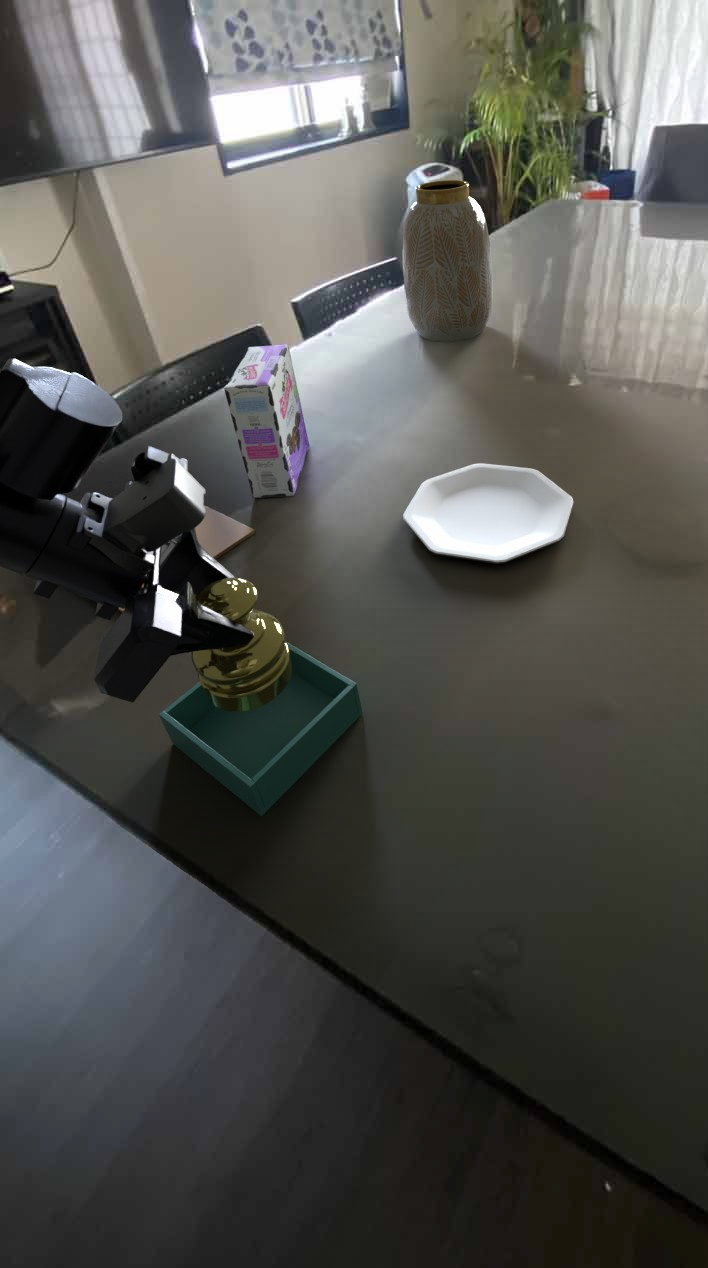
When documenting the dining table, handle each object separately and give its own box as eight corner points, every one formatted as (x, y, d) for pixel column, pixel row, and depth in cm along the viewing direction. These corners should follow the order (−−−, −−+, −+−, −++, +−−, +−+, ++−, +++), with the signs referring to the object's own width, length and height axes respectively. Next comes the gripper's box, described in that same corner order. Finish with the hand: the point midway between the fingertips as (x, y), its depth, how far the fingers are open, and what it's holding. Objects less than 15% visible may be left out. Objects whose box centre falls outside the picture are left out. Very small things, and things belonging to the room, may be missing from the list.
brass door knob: (295, 640, 60) (273, 551, 55) (291, 707, 54) (266, 616, 48) (211, 651, 60) (180, 563, 54) (197, 720, 54) (160, 629, 48)
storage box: (261, 816, 54) (250, 787, 52) (172, 743, 60) (158, 714, 58) (363, 713, 61) (356, 683, 59) (273, 657, 68) (265, 629, 65)
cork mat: (128, 618, 74) (127, 614, 74) (64, 573, 82) (62, 569, 81) (255, 532, 85) (254, 529, 85) (188, 500, 93) (187, 497, 93)
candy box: (295, 497, 91) (268, 384, 82) (251, 500, 92) (221, 387, 82) (311, 446, 103) (289, 341, 93) (272, 448, 103) (247, 344, 94)
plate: (553, 580, 74) (554, 569, 73) (385, 554, 80) (384, 544, 79) (580, 483, 89) (581, 473, 88) (437, 467, 95) (436, 458, 94)
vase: (418, 315, 147) (406, 178, 131) (498, 314, 143) (495, 173, 128) (400, 346, 133) (384, 197, 118) (487, 346, 129) (483, 192, 114)
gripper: (85, 526, 35) (327, 628, 44) (120, 386, 50) (295, 481, 59) (-12, 667, 39) (231, 738, 47) (48, 495, 54) (224, 572, 62)
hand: (249, 617), depth 53 cm, fingers closed on brass door knob, 5 cm apart
